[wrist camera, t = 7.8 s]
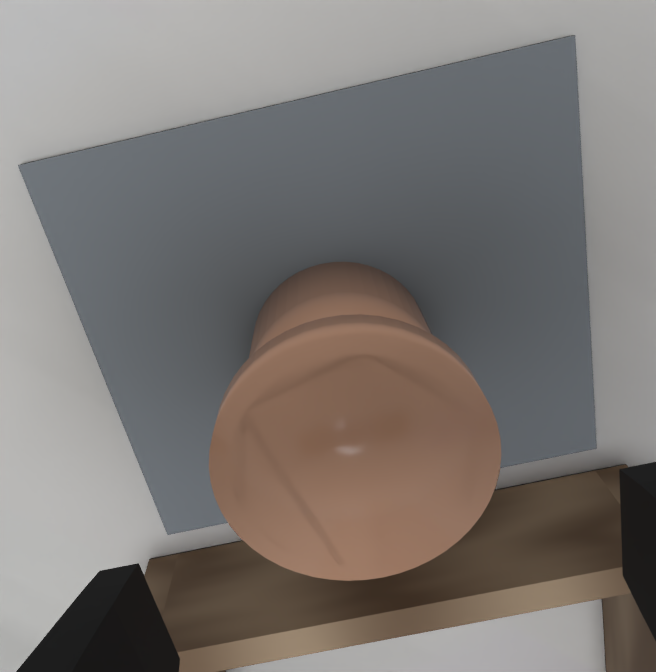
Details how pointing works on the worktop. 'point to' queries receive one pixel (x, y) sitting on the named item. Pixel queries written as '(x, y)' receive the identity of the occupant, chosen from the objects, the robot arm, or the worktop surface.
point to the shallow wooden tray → (414, 585)
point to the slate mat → (336, 247)
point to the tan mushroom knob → (351, 431)
